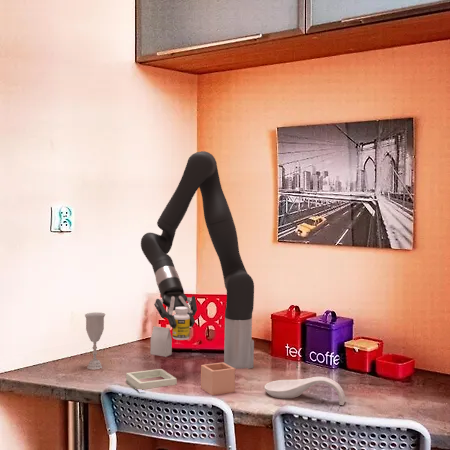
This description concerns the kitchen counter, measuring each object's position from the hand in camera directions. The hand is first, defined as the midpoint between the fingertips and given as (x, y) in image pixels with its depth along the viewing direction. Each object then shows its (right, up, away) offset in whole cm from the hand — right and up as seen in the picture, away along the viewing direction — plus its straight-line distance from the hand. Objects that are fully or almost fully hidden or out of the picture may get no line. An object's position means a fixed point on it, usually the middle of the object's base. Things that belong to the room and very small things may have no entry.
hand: (183, 326), depth 212 cm
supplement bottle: (-1, -4, +2) cm, 5 cm away
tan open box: (+11, -19, -9) cm, 23 cm away
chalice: (-31, -16, +16) cm, 39 cm away
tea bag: (-10, -16, +35) cm, 40 cm away
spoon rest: (+36, -20, -13) cm, 43 cm away
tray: (-10, -18, -2) cm, 21 cm away
